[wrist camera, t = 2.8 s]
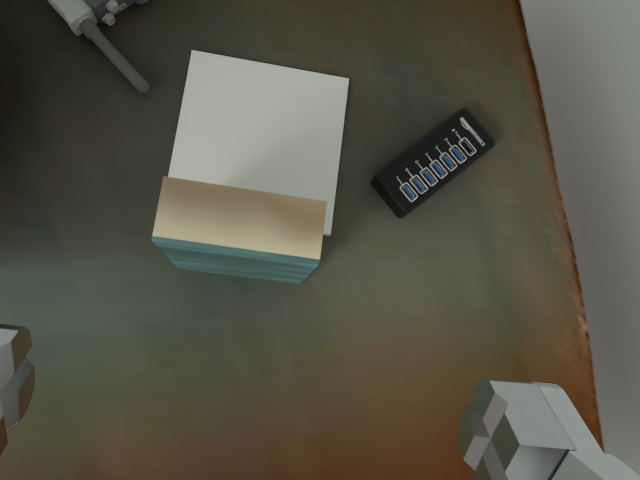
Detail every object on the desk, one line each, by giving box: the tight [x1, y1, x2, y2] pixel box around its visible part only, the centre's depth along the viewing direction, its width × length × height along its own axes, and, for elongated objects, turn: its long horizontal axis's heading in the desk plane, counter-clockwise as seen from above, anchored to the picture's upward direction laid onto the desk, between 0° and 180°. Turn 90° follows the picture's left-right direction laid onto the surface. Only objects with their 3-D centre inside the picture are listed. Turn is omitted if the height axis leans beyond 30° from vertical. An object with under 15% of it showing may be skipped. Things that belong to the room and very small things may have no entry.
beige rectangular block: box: [151, 176, 327, 285], centre depth 37 cm, size 4×10×12 cm, turn 83°
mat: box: [168, 50, 349, 236], centre depth 44 cm, size 14×14×1 cm
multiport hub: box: [371, 108, 495, 218], centre depth 46 cm, size 4×11×2 cm, turn 128°
